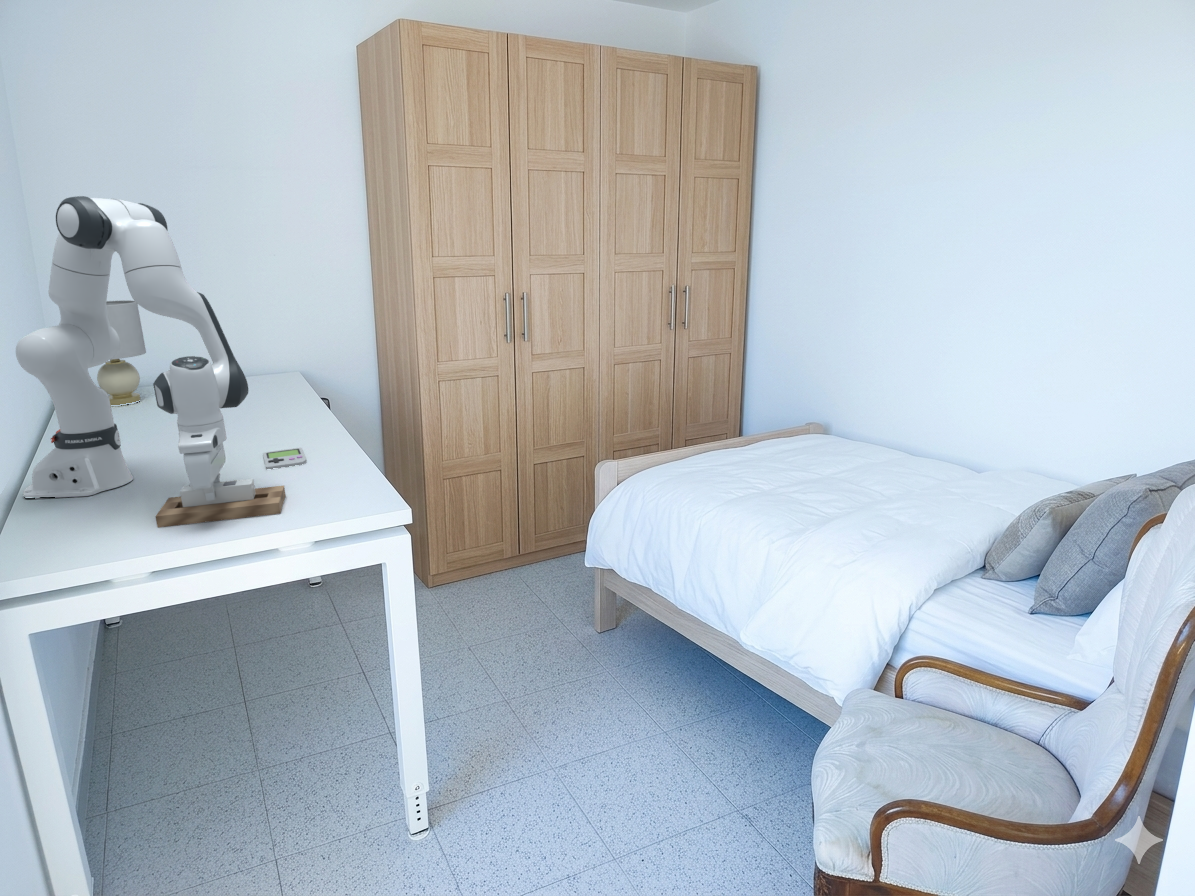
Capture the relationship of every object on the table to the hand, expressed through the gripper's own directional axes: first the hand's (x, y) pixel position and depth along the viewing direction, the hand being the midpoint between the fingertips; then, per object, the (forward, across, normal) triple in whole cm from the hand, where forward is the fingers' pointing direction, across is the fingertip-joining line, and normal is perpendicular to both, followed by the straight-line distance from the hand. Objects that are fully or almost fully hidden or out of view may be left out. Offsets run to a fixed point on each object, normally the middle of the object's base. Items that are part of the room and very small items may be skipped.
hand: (213, 495), depth 171 cm
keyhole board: (+4, 0, +2) cm, 4 cm away
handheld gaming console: (+4, -37, +11) cm, 39 cm away
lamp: (+4, -133, -52) cm, 143 cm away
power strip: (+1, 0, +1) cm, 2 cm away
